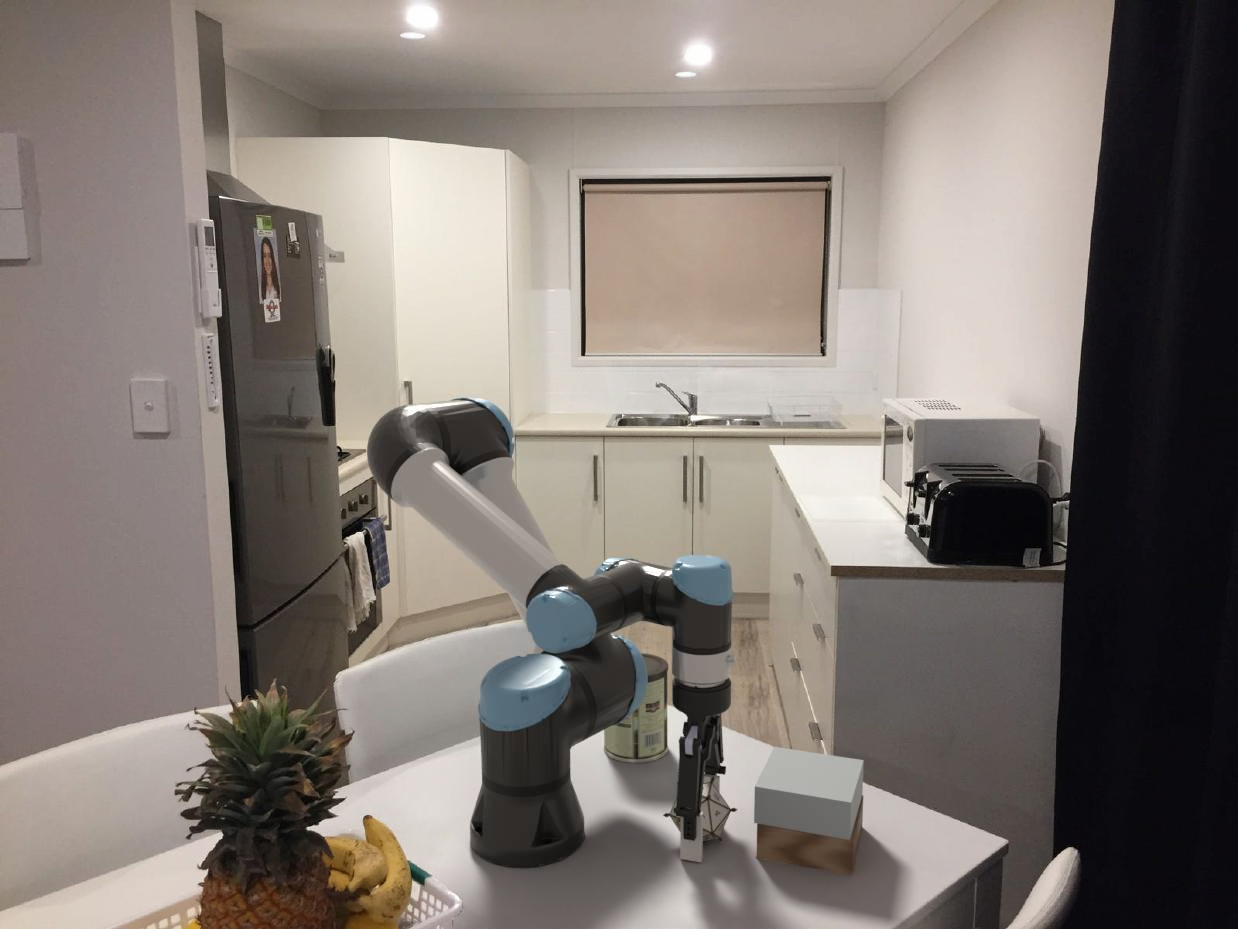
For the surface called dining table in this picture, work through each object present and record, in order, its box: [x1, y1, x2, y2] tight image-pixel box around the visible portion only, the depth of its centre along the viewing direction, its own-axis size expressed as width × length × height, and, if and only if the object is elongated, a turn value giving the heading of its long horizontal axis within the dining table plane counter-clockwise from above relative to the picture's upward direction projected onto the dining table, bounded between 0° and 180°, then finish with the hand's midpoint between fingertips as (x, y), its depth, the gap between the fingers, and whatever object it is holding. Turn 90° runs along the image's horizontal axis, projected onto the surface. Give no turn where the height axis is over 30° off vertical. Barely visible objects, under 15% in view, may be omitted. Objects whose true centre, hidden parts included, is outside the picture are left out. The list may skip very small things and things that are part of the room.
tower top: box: [753, 746, 865, 840], centre depth 130 cm, size 12×12×5 cm
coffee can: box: [603, 652, 669, 764], centre depth 157 cm, size 10×10×14 cm
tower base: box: [755, 794, 864, 877], centre depth 131 cm, size 12×12×5 cm
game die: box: [662, 776, 739, 843], centre depth 131 cm, size 9×8×10 cm
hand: (700, 839), depth 131 cm, fingers open, 9 cm apart
